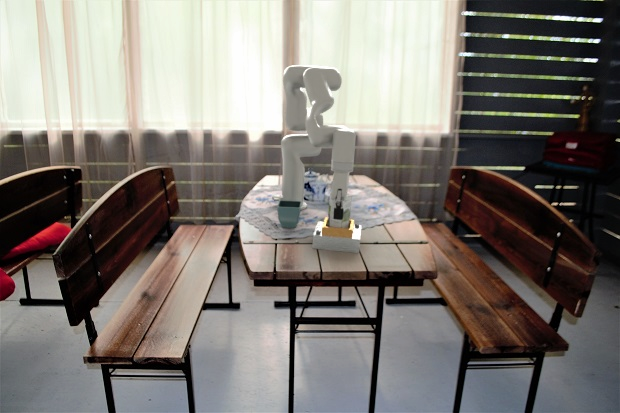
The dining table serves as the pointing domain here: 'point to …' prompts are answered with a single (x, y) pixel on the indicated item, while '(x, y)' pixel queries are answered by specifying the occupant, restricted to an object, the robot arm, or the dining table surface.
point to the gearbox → (337, 237)
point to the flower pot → (289, 213)
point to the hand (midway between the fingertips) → (339, 215)
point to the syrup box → (346, 213)
